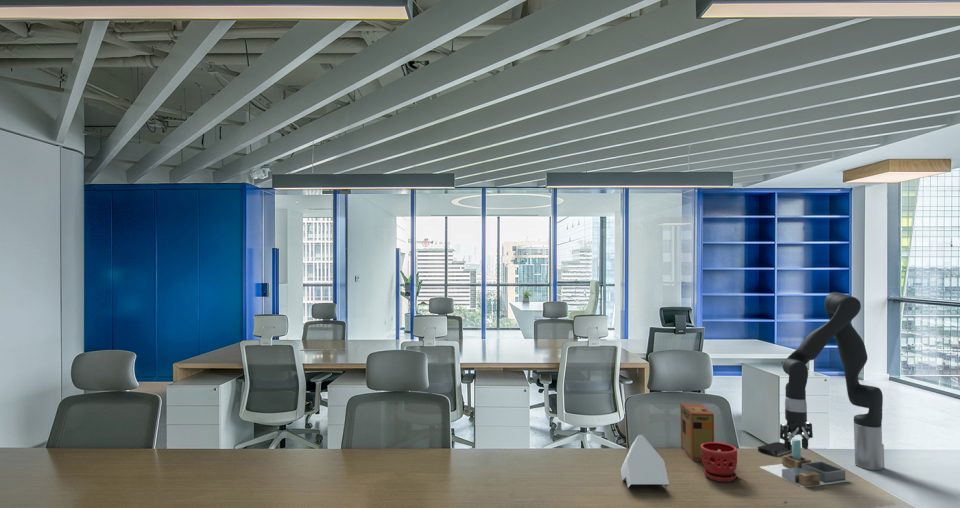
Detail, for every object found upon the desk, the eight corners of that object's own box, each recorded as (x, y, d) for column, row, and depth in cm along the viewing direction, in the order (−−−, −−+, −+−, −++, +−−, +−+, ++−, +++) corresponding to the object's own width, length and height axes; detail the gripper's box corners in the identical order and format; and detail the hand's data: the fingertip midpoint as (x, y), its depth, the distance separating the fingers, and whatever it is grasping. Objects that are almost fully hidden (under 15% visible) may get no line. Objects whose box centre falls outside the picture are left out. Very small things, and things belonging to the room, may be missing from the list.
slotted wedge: (660, 492, 193) (650, 444, 204) (669, 484, 184) (658, 434, 195) (624, 492, 193) (616, 444, 204) (631, 484, 184) (622, 434, 195)
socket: (796, 463, 209) (795, 454, 209) (811, 470, 202) (811, 460, 203) (782, 465, 207) (782, 455, 207) (797, 472, 201) (797, 461, 201)
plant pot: (737, 474, 202) (736, 443, 202) (738, 486, 190) (737, 454, 190) (701, 468, 207) (700, 439, 208) (700, 480, 195) (700, 449, 196)
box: (681, 447, 233) (680, 403, 233) (701, 448, 232) (700, 403, 233) (692, 460, 216) (691, 413, 217) (714, 461, 215) (713, 413, 216)
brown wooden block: (814, 482, 191) (813, 471, 191) (819, 484, 188) (819, 473, 189) (799, 484, 189) (799, 473, 189) (804, 486, 187) (804, 475, 187)
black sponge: (775, 460, 217) (774, 451, 218) (755, 454, 225) (755, 445, 225) (796, 453, 226) (795, 445, 226) (776, 447, 233) (776, 439, 233)
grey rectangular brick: (798, 475, 197) (798, 467, 198) (812, 481, 192) (812, 473, 192) (781, 477, 195) (781, 469, 196) (795, 483, 190) (794, 475, 190)
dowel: (796, 466, 207) (795, 438, 207) (803, 468, 204) (802, 441, 204) (790, 466, 206) (789, 439, 206) (797, 469, 203) (796, 441, 203)
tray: (821, 470, 202) (821, 461, 203) (845, 480, 193) (845, 470, 193) (801, 472, 200) (801, 463, 200) (824, 482, 190) (824, 473, 190)
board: (800, 464, 212) (800, 461, 212) (848, 484, 192) (848, 481, 192) (758, 469, 206) (758, 466, 206) (803, 490, 186) (803, 487, 186)
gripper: (789, 412, 200) (790, 454, 199) (817, 410, 204) (818, 451, 203) (774, 407, 207) (774, 448, 207) (801, 405, 211) (802, 445, 210)
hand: (796, 449), depth 205 cm, fingers open, 8 cm apart
